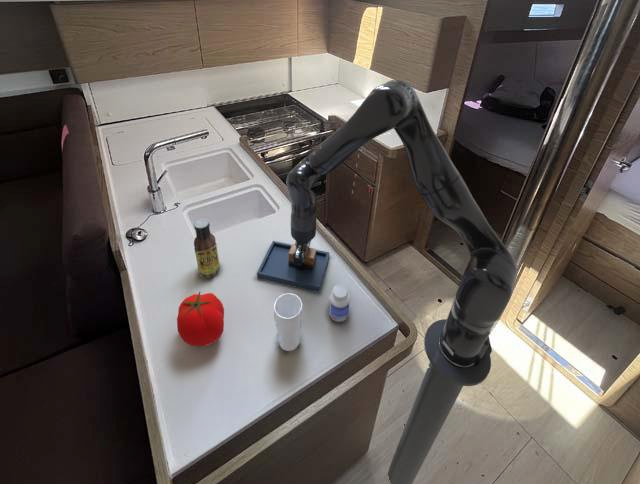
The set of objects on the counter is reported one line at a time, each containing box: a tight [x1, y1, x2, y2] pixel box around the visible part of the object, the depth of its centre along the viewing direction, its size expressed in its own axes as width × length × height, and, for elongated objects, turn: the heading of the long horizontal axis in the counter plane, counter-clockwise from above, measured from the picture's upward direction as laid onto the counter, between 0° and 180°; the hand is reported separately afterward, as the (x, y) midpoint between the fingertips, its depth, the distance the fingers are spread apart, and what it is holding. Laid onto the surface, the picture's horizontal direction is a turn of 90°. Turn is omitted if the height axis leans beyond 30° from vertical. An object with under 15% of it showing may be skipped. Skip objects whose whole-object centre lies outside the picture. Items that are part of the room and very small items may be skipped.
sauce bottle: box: [193, 218, 221, 279], centre depth 96 cm, size 6×6×20 cm
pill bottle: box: [328, 284, 351, 323], centre depth 87 cm, size 5×5×10 cm
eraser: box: [288, 244, 317, 271], centre depth 102 cm, size 8×5×5 cm, turn 77°
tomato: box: [176, 291, 225, 347], centre depth 81 cm, size 12×12×13 cm
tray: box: [256, 240, 330, 293], centre depth 102 cm, size 20×14×2 cm
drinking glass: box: [273, 292, 304, 352], centre depth 79 cm, size 7×7×15 cm
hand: (302, 261), depth 103 cm, fingers closed on eraser, 5 cm apart
